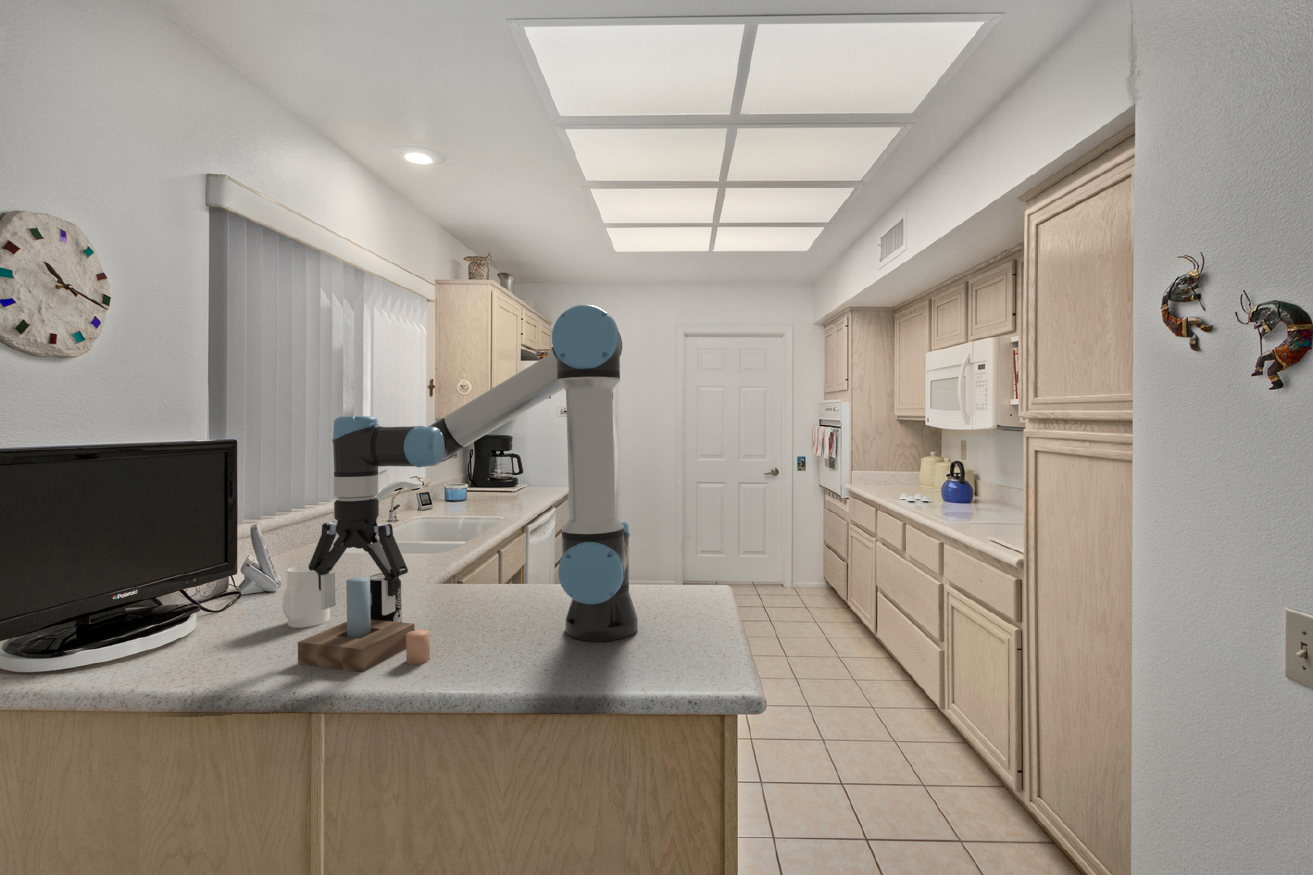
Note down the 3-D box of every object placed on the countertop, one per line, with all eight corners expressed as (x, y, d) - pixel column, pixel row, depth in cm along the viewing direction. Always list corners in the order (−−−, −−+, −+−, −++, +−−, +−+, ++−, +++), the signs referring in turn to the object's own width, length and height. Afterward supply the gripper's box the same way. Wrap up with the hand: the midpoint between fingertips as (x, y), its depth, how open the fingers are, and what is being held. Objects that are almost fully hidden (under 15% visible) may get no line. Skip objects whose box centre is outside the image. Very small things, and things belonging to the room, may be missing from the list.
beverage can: (388, 639, 121) (387, 580, 121) (359, 637, 122) (358, 579, 122) (408, 629, 128) (407, 572, 127) (380, 627, 129) (380, 571, 129)
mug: (265, 634, 125) (264, 576, 124) (301, 615, 137) (300, 563, 136) (304, 634, 124) (302, 576, 124) (337, 616, 136) (336, 563, 136)
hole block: (414, 643, 119) (414, 623, 119) (363, 671, 105) (362, 649, 105) (355, 637, 123) (354, 618, 122) (297, 664, 109) (297, 642, 109)
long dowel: (375, 650, 115) (374, 577, 115) (360, 658, 112) (359, 583, 111) (358, 648, 116) (357, 576, 116) (342, 656, 113) (341, 581, 112)
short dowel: (434, 657, 112) (434, 630, 112) (420, 665, 108) (420, 638, 108) (415, 655, 113) (415, 628, 113) (401, 663, 109) (401, 636, 109)
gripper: (426, 497, 114) (427, 609, 114) (318, 494, 120) (319, 599, 121) (400, 502, 107) (401, 621, 107) (286, 498, 113) (287, 611, 113)
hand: (358, 610), depth 114 cm, fingers open, 13 cm apart
